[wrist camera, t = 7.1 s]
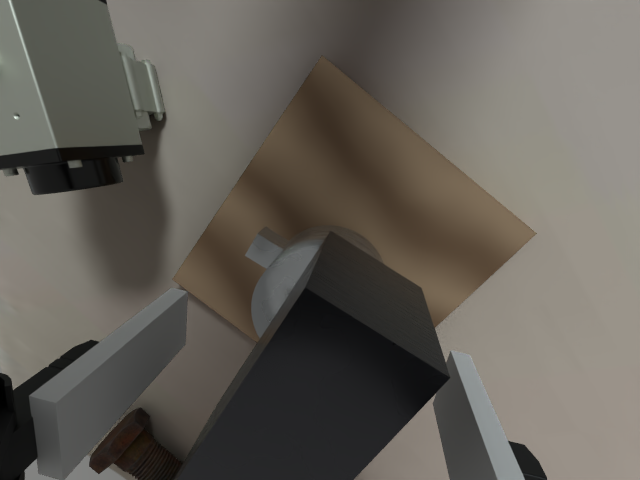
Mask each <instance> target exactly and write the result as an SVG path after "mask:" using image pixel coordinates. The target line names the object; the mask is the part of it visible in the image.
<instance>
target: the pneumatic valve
mask: <svg viewBox="0 0 640 480" xmlns="http://www.w3.org/2000/svg"><path fill="white" fill-rule="evenodd" d="M163 113H165V110H164V105H163V101H162V96H161V92H160V88H159V83H158V79H157V74H156V70H155V66H154V65H152V64H151V63H150V60H142V61H141V62H139V61H136V59H135V55H134V51H133V48H132V47H131V46H129V45H126V44H120V43H117V42H116V38H115V34H114V30H113V26H112V22H111V18H110V14H109V10H108V6H107V2H106V0H0V170H3V172H4V175H5V176H14V175H19V173H18V171H17V169H19V168H23V169H24V172H25V174H26V177H27V180H28V183H29V186H30V189H31V192H32V194H34V195H41V194H51V193H59V192H67V191H74V190H81V189H88V188H94V187H100V186H106V185H112V184H117V183H121V182H123V177H122V174H121V170H120V166H119V163H118V159H117V158H119V157H122V160H123V162H132V161H133V157H132V156H135V155H143V154H144V150H143V146H142V142H141V138H140V134H139V131H142V130H149V129H152V125H151V121H150V117H149V115H151V114H153V115H154V117H155V119H157V121H160V120H162V118H163V115H162V114H163Z"/></svg>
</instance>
